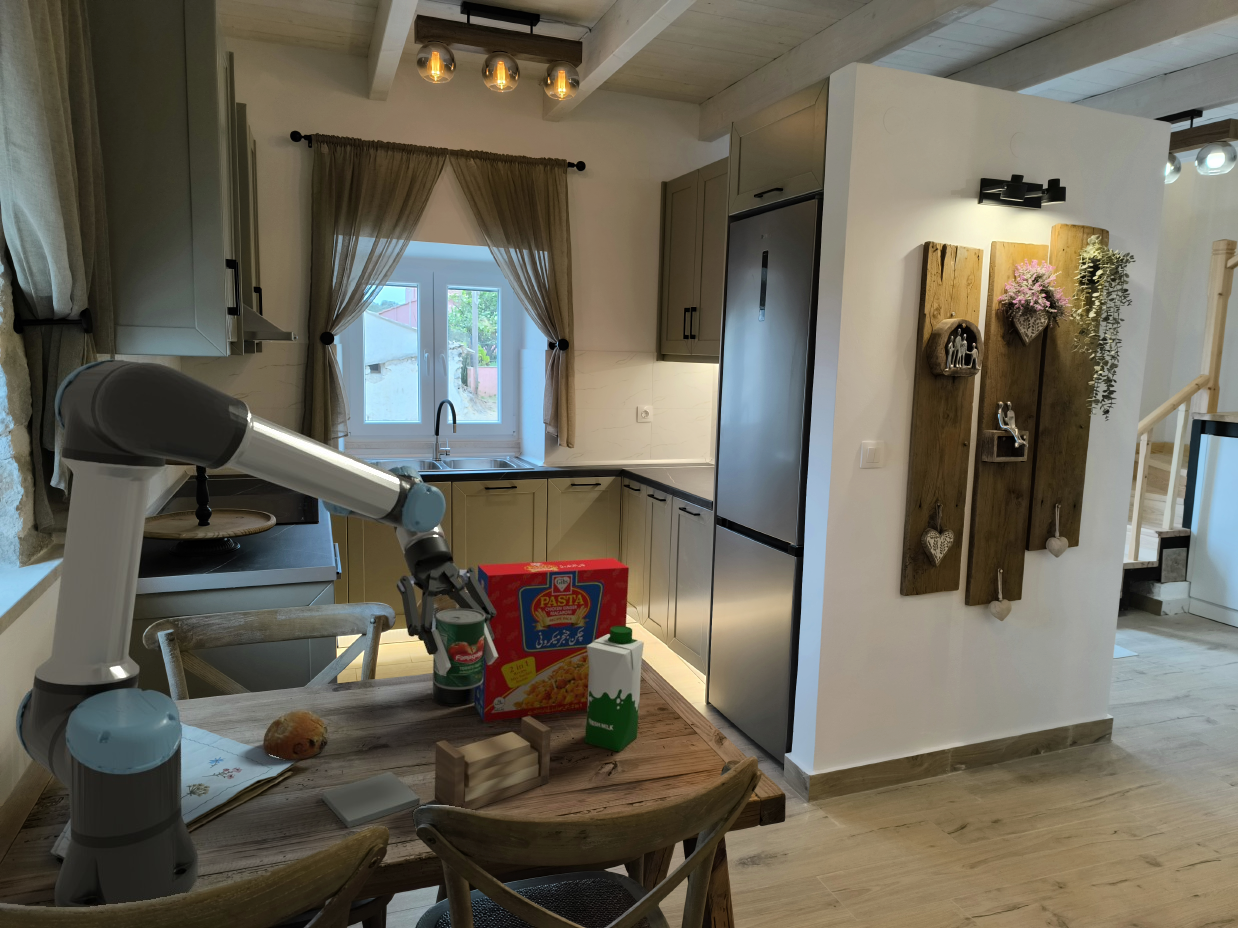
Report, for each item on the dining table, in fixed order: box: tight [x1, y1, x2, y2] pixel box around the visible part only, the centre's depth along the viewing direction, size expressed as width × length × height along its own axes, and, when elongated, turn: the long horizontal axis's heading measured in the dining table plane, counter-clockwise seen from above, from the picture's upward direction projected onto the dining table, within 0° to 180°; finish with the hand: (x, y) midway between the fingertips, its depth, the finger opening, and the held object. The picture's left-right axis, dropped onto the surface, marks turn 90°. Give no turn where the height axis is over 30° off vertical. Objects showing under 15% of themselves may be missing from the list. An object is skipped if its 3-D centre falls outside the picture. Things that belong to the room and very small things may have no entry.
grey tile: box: [321, 771, 421, 829], centre depth 123 cm, size 11×10×1 cm
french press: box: [431, 582, 475, 707], centre depth 163 cm, size 12×9×23 cm
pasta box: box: [473, 557, 630, 723], centre depth 160 cm, size 28×8×28 cm, turn 113°
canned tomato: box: [434, 607, 485, 690], centre depth 133 cm, size 8×8×11 cm
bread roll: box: [262, 710, 330, 761], centre depth 139 cm, size 10×10×8 cm
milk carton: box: [584, 625, 645, 753], centre depth 147 cm, size 9×9×20 cm
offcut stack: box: [455, 731, 539, 802], centre depth 128 cm, size 13×5×6 cm, turn 130°
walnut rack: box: [434, 716, 552, 810], centre depth 128 cm, size 17×6×9 cm, turn 130°
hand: (469, 665), depth 130 cm, fingers closed on canned tomato, 8 cm apart
